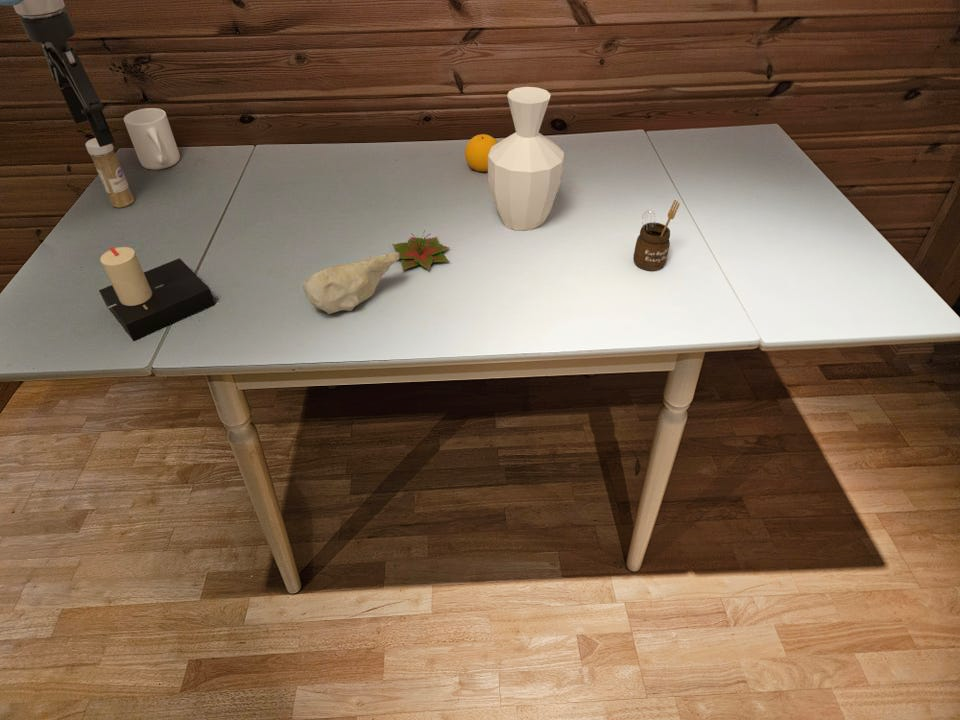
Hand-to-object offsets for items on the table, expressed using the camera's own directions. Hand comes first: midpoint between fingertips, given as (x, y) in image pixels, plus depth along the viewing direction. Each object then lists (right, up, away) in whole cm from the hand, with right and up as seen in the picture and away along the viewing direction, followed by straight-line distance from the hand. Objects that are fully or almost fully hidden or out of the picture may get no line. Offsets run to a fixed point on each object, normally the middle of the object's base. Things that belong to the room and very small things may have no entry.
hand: (94, 132), depth 126 cm
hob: (+20, -35, -14) cm, 42 cm away
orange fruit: (+75, -1, +22) cm, 78 cm away
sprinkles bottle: (0, -11, +11) cm, 16 cm away
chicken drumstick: (+53, -33, -12) cm, 63 cm away
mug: (+2, 0, +23) cm, 23 cm away
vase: (+83, -16, +5) cm, 85 cm away
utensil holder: (+105, -26, -5) cm, 109 cm away
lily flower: (+63, -25, -4) cm, 68 cm away
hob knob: (+18, -33, -18) cm, 42 cm away
